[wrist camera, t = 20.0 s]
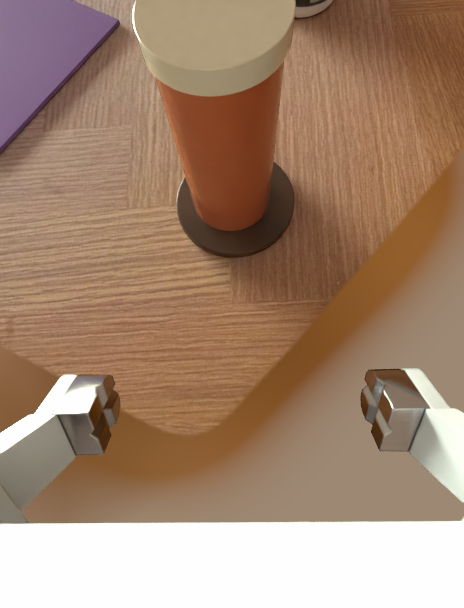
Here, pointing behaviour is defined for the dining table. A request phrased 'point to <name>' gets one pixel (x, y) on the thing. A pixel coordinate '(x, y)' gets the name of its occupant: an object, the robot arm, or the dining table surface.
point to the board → (42, 54)
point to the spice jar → (220, 95)
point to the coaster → (244, 239)
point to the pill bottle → (310, 7)
